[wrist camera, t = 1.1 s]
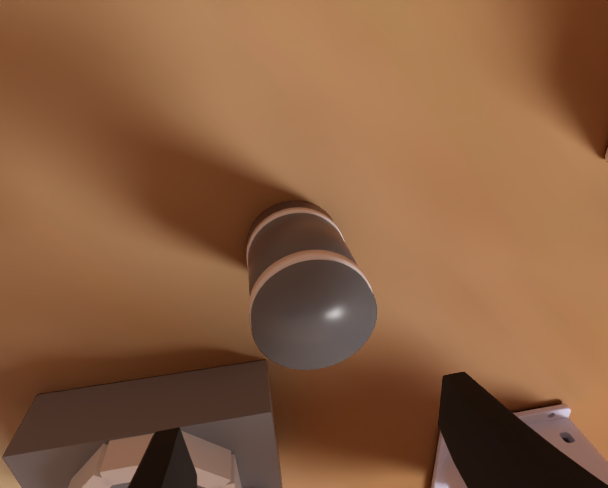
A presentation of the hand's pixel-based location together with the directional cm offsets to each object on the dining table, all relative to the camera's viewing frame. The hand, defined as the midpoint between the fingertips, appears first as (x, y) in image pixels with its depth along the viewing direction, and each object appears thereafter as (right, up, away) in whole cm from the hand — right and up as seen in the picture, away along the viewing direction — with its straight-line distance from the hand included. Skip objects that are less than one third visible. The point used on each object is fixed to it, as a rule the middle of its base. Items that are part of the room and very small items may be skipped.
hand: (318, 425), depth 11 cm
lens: (-1, +5, +8) cm, 10 cm away
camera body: (-8, -6, +12) cm, 16 cm away
